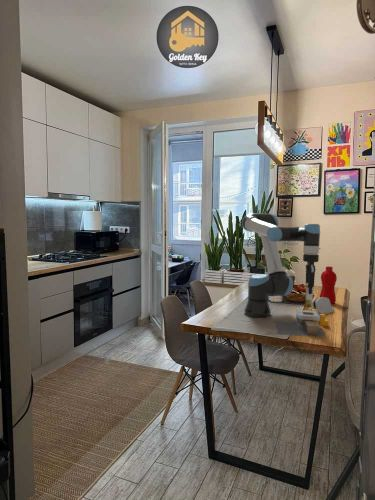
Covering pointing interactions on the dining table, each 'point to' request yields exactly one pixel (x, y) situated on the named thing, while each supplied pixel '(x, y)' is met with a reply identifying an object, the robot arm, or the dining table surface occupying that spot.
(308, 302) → the brass pin
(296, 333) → the mat
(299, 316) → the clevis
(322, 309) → the grey rounded block
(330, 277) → the water bottle
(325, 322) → the pipe clamp
